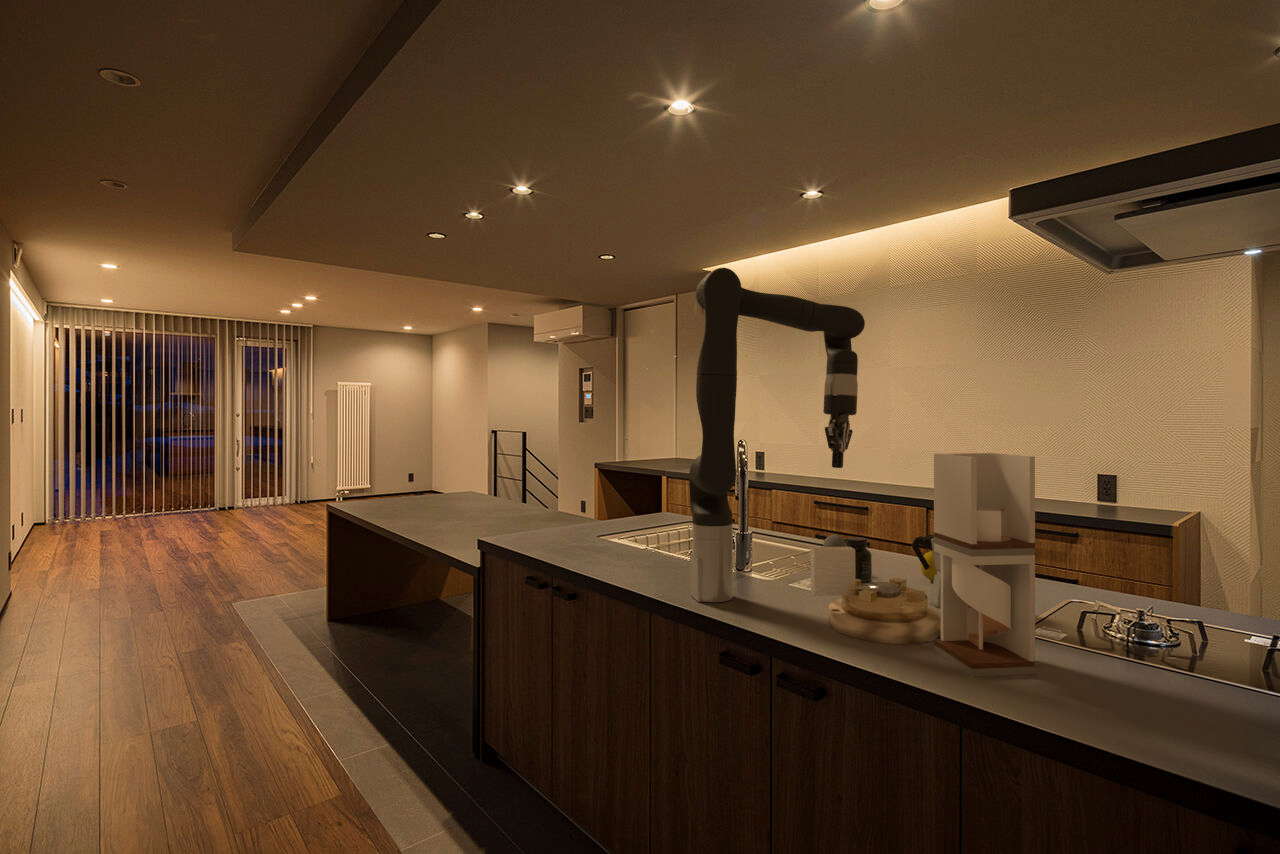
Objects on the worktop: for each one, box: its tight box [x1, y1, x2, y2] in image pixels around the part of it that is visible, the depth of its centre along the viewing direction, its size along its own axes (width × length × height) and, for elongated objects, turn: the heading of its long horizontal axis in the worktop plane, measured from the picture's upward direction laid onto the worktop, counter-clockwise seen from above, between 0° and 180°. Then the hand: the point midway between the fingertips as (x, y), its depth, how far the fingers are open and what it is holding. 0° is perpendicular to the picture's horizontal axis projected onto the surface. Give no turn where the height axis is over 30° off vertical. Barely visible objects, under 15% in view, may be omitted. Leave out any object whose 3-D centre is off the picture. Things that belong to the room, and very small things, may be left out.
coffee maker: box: [911, 534, 941, 609], centre depth 144 cm, size 15×9×18 cm, turn 47°
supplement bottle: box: [845, 536, 873, 584], centre depth 160 cm, size 7×7×12 cm
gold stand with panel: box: [810, 546, 929, 622], centre depth 130 cm, size 22×16×12 cm
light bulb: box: [822, 534, 847, 547], centre depth 176 cm, size 6×6×10 cm
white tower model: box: [933, 452, 1036, 677], centre depth 110 cm, size 11×11×35 cm
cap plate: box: [828, 598, 941, 645], centre depth 130 cm, size 21×21×3 cm
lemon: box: [920, 550, 937, 583], centre depth 164 cm, size 6×6×8 cm
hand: (837, 467), depth 154 cm, fingers closed
